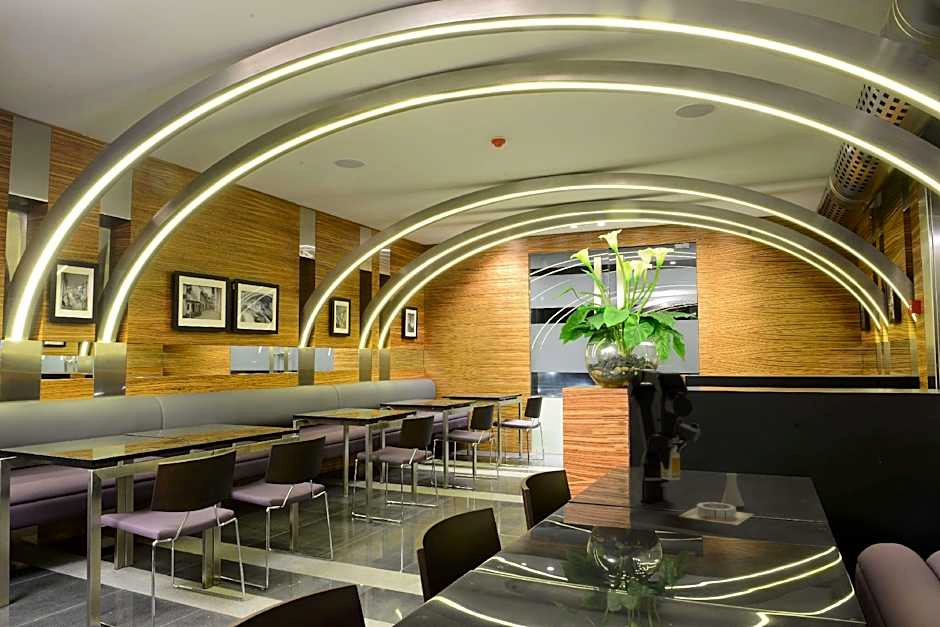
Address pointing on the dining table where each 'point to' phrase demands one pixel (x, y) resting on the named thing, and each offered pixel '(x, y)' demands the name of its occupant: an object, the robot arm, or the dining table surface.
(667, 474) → the supplement bottle
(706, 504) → the steel ring collar
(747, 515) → the birch base plate
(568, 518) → the dining table surface
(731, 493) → the flask
